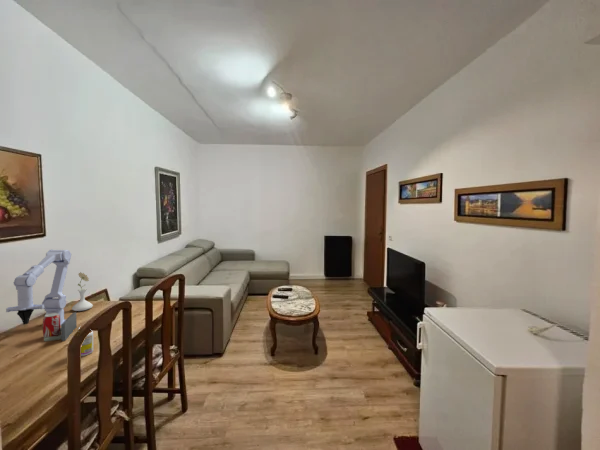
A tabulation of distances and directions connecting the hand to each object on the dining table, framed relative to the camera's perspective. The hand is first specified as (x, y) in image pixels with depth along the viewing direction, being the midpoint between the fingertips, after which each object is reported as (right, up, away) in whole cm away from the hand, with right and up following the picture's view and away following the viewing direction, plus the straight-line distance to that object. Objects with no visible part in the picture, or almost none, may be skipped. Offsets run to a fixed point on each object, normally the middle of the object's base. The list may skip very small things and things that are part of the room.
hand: (26, 323), depth 148 cm
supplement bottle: (+40, -10, -12) cm, 43 cm away
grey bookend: (+13, -8, +6) cm, 16 cm away
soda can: (+10, -9, +4) cm, 14 cm away
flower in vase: (-5, -6, +45) cm, 46 cm away
